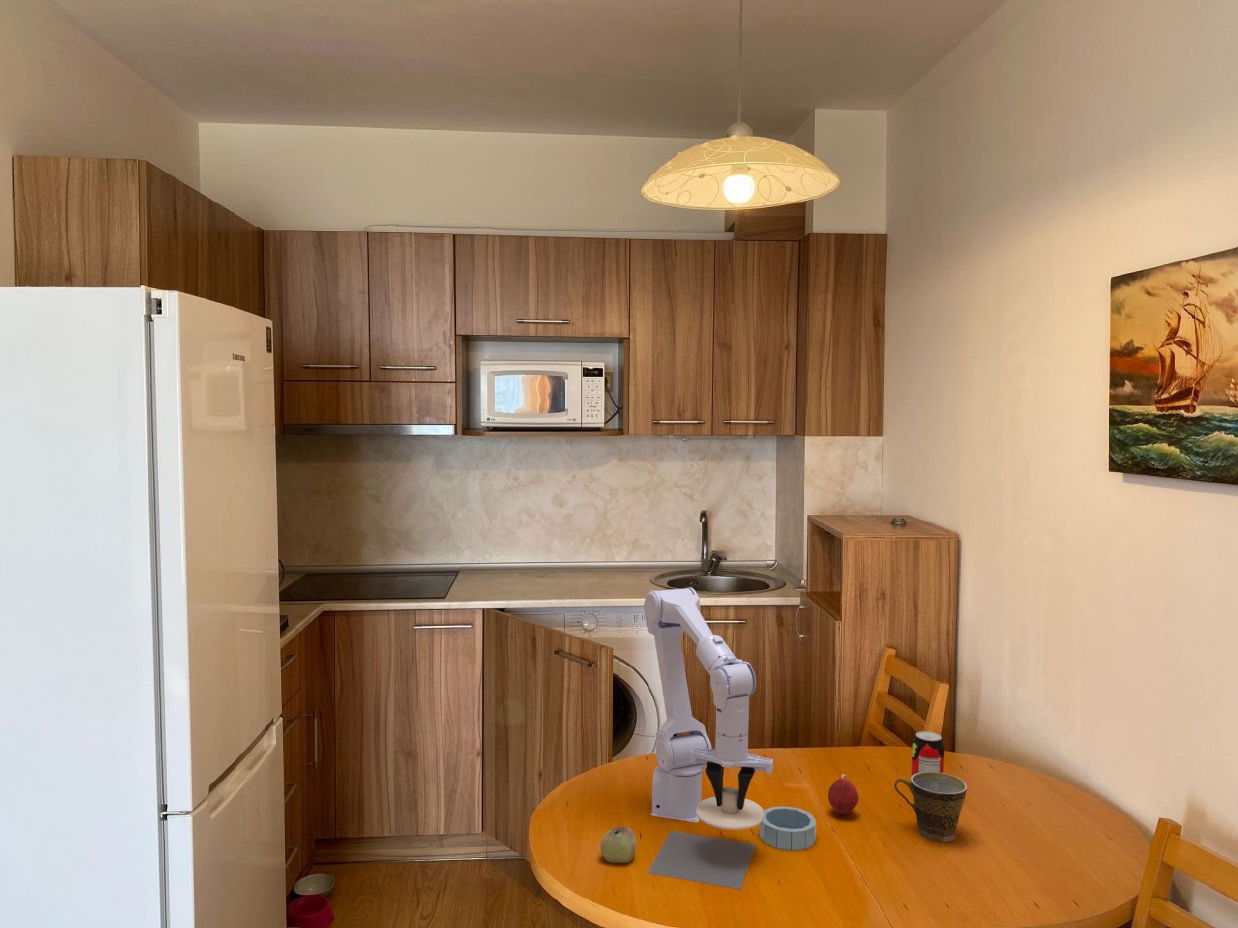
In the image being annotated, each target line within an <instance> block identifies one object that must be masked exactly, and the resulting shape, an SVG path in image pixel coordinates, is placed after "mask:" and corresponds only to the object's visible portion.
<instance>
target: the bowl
mask: <svg viewBox="0 0 1238 928" xmlns="http://www.w3.org/2000/svg"><path fill="white" fill-rule="evenodd" d="M763 811H764V819H763V821H762V822H761V823H760V824H759V837H760V838H761V840H762V841H763V842H764V843H765V844H767V845H769V846H771V847H773V848H775V849H779V850H786V851H792V852H793V851H801V850H803V851H804V850H807V849H808V848H811V847H812V846H814V845H815V843H816V837H817V835H816V834H817V819H816V818H815V817H814V816H813V814H812V813H810V812H808V811H807V810H803V809H801V808H798V807H790V806H785V805H784V806H771V807H769V808H766V809H763Z"/></svg>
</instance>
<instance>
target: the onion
mask: <svg viewBox="0 0 1238 928" xmlns="http://www.w3.org/2000/svg"><path fill="white" fill-rule="evenodd" d="M827 793H828V794H827V799H828V802H829V805H830V806H831V808H832V809H834V811H835V812H837V813H838V814H840V815H842V816H844V815H846V814H848V813H850V812H851V811H853V810H854V809H855V808H856V807H857V805H858V803H859V793H858V789H857V788H856V786H855V785H854V784H853V783H852V782H851V781H850V780H849V779H848V776H847V774H841V775H840V778H839V779H836V780H835V781H834V782H832V783H831V784H830V786H829V788H828V792H827Z"/></svg>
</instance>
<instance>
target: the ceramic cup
mask: <svg viewBox="0 0 1238 928" xmlns="http://www.w3.org/2000/svg"><path fill="white" fill-rule="evenodd" d="M898 783H903V784H904V785H905V786H907V787H908V788H909V789H910V793H911V794H912V797H913V803H912V802H910V801H909V799H908V798H907V797H906V795H905V794H903V793H902V792H901V791H900V790H899V789H898V787H897V785H898ZM893 787H894V790H895V791H896V792H897V793H898V795H900V796H901V797H902V799H904V800H905V802H906V803H907V804H908V805H909V807H911V808H912V810H913V812H914V813H915V818H916V824H917V825H916V826H917V832H918V834H919V835H921V836H923V837H924V839H927V840H930V841H935V842H940V843H945V842H951V841H954V840H955V838H956V833H957V828H958V823H959V820H960V819H959V818H960V816H961V811H962V810H963V806H964V804H965V800H966V795H967V790H968V785H967V784H966V782H965V781H964V780H962V779H961V778H958V777H957V776H954V775H951V774H948V773H945V772H943V773H938V772H921V773H917V774H914V775H913V776H912V777H910V781H909V780H907V779H906V778H897V780H895V782H894V786H893Z"/></svg>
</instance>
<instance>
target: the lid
mask: <svg viewBox="0 0 1238 928" xmlns="http://www.w3.org/2000/svg"><path fill="white" fill-rule="evenodd" d="M738 796H739V788H736V787H733V786H725V787H723V789H722V790H721V807H719V806H717V803H716V798H715V796H711V797H708V798H705V799H703V800H701V802H700V803H699V804H698V805H697V807H696V814H697V816H698V817H699V819H700V820H699V821H701V822H703V823H704V824H707V825H709V826H711V827H714V828H717V829H723V830H732V831H734V830H736V831H738V830H740V831H741V830H748V829H751V828H755V827H757V826H760V823H761V822H762V821H763V819H764V809H763V808H762V807H761V805H759V804H758V803H757V802H755V801H753V800H750V799H747V798H745V801H744V807H743V809H742V810H738Z"/></svg>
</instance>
